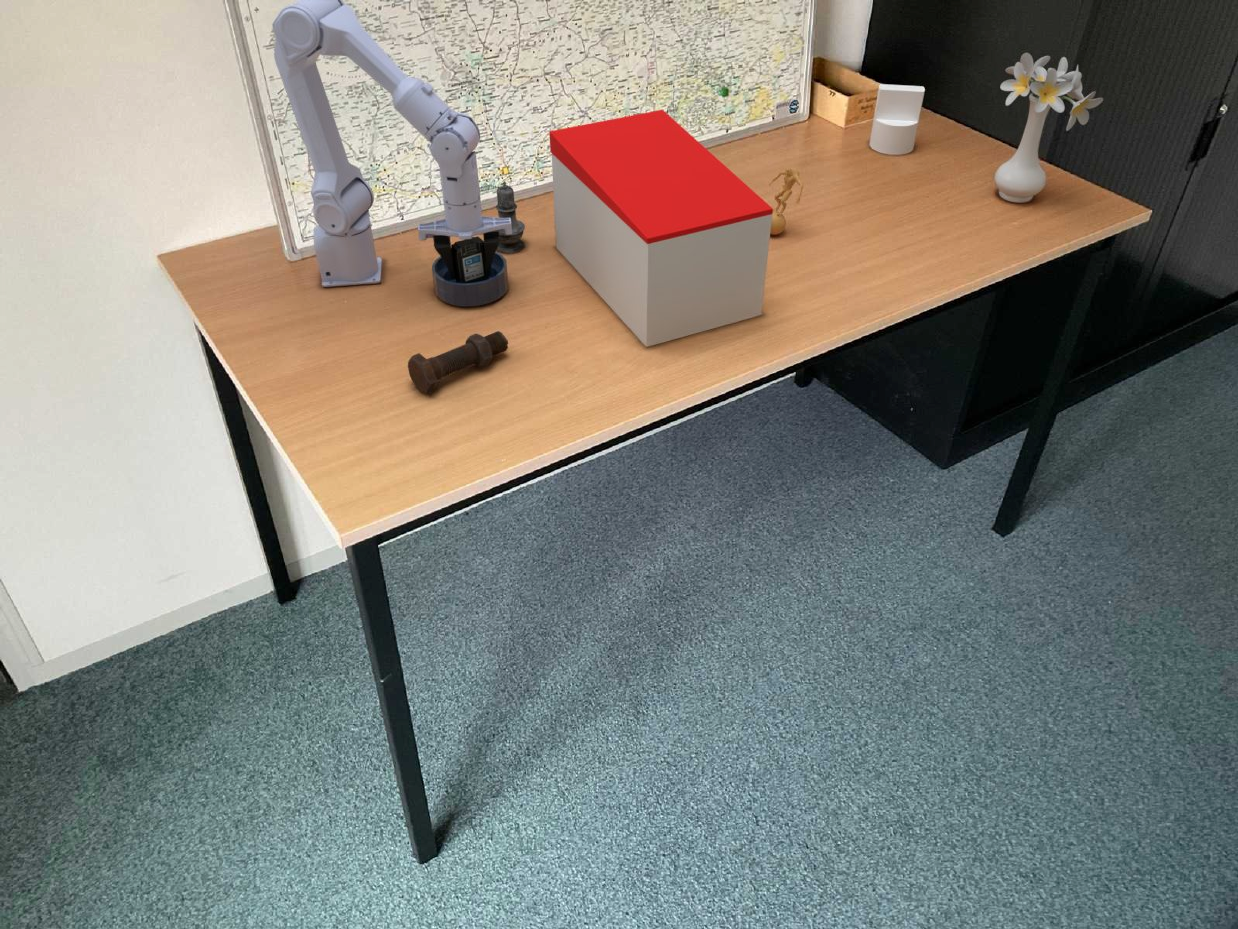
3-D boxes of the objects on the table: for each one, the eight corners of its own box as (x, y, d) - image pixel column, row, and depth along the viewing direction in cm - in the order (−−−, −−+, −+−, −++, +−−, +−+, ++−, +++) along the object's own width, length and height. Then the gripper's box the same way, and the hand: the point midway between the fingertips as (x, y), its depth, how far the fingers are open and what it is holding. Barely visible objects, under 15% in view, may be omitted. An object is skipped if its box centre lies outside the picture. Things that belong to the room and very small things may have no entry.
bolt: (507, 363, 152) (422, 400, 145) (489, 337, 153) (404, 372, 146) (517, 343, 147) (430, 380, 140) (499, 316, 148) (411, 351, 141)
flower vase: (1044, 224, 182) (1085, 86, 166) (958, 190, 193) (989, 56, 176) (1082, 203, 189) (1126, 67, 172) (997, 170, 199) (1030, 40, 183)
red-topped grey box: (658, 222, 183) (661, 108, 170) (761, 314, 159) (774, 191, 146) (554, 246, 176) (548, 130, 163) (645, 347, 152) (647, 221, 139)
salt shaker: (521, 255, 174) (516, 190, 166) (488, 251, 175) (482, 187, 167) (530, 239, 178) (525, 175, 171) (498, 236, 179) (492, 172, 171)
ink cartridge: (462, 293, 163) (456, 249, 158) (456, 287, 165) (450, 243, 159) (489, 284, 165) (484, 240, 160) (483, 278, 167) (477, 234, 161)
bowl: (435, 311, 160) (432, 287, 157) (435, 273, 169) (431, 249, 166) (510, 305, 162) (508, 281, 159) (506, 268, 171) (504, 244, 168)
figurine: (750, 226, 182) (756, 163, 174) (777, 218, 184) (784, 155, 176) (778, 245, 176) (785, 181, 169) (805, 237, 179) (814, 173, 171)
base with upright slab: (869, 153, 206) (879, 94, 198) (868, 135, 212) (878, 78, 205) (914, 156, 205) (926, 97, 197) (912, 138, 211) (923, 80, 203)
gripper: (413, 212, 151) (425, 291, 160) (510, 205, 153) (516, 284, 161) (414, 191, 156) (425, 268, 165) (507, 185, 158) (513, 262, 167)
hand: (470, 275), depth 164 cm, fingers closed on ink cartridge, 5 cm apart
